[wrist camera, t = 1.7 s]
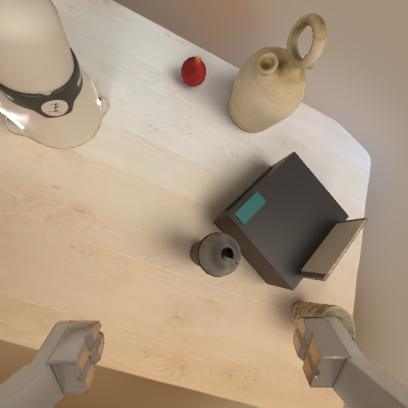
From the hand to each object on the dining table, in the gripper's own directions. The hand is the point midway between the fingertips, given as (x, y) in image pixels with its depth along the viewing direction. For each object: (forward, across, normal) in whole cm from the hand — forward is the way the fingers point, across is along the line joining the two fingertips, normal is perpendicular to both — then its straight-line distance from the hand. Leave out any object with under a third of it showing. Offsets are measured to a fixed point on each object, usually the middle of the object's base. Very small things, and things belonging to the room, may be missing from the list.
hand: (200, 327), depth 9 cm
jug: (+57, -14, -6) cm, 59 cm away
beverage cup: (+33, 0, +21) cm, 39 cm away
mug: (+28, -25, +38) cm, 53 cm away
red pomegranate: (+57, +2, -12) cm, 59 cm away
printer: (+41, -18, +18) cm, 48 cm away
